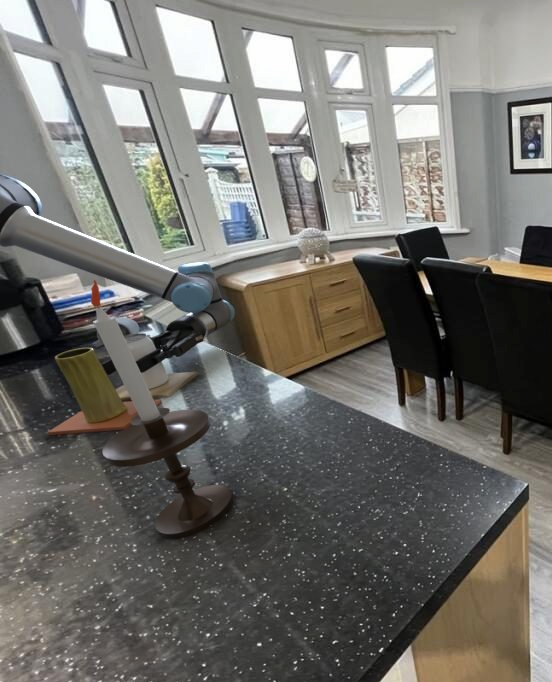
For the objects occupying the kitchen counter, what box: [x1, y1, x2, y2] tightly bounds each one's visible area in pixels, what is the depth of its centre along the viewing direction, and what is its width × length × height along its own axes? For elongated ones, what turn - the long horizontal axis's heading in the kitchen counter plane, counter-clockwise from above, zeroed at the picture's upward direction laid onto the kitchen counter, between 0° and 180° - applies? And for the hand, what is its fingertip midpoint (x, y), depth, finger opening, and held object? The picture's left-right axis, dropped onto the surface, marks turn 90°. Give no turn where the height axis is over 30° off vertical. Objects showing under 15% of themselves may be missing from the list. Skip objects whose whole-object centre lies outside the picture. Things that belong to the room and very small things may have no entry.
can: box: [124, 332, 169, 390], centre depth 90 cm, size 6×6×12 cm
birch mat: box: [115, 371, 199, 402], centre depth 93 cm, size 14×11×1 cm
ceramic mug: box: [92, 317, 140, 349], centre depth 117 cm, size 11×8×8 cm
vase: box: [54, 346, 126, 423], centre depth 79 cm, size 6×6×14 cm
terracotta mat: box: [47, 398, 162, 436], centre depth 82 cm, size 14×10×1 cm
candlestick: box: [90, 279, 234, 540], centre depth 51 cm, size 11×11×35 cm
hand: (122, 368), depth 85 cm, fingers closed on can, 6 cm apart
